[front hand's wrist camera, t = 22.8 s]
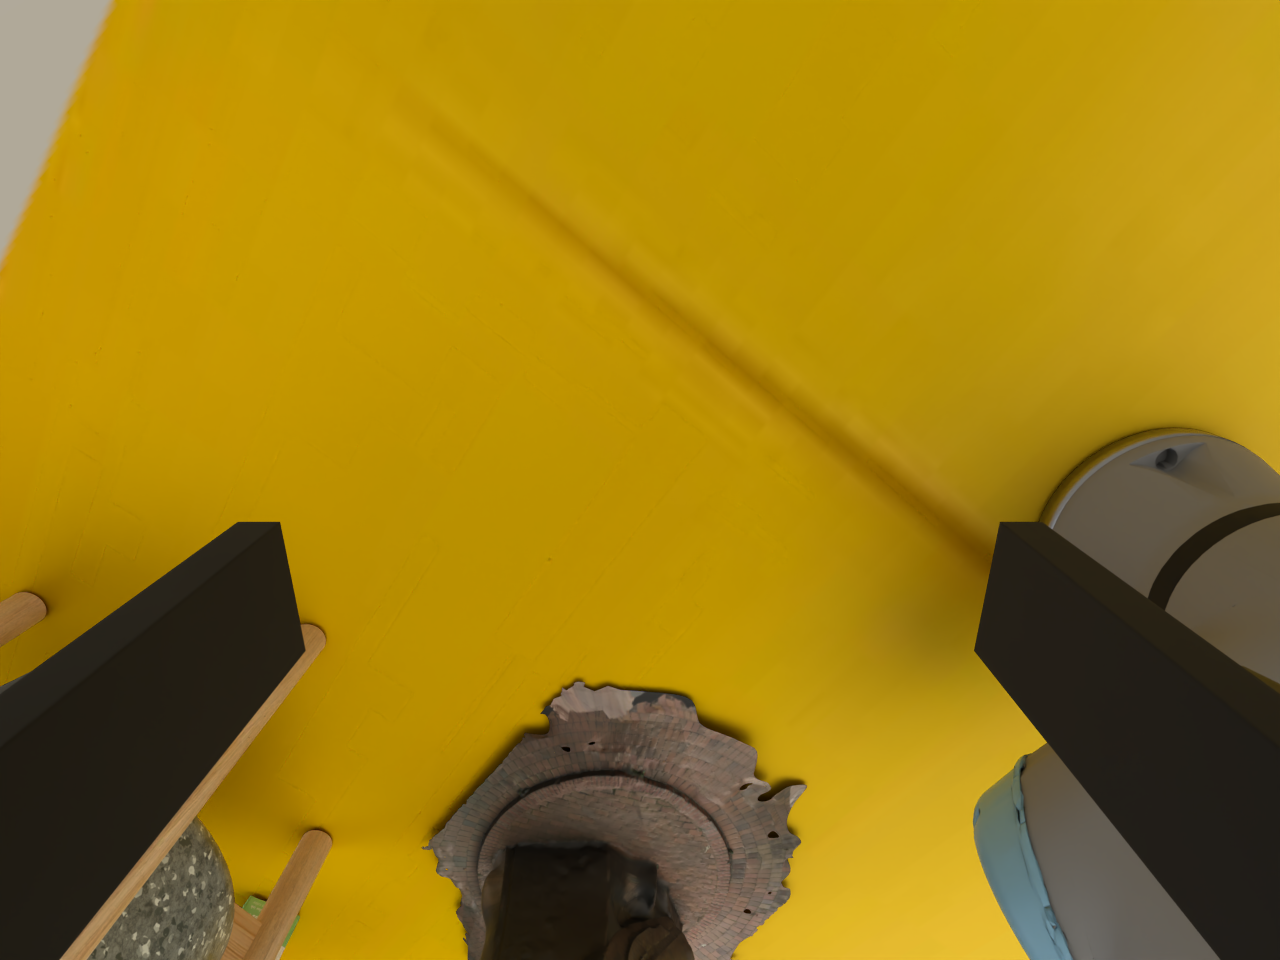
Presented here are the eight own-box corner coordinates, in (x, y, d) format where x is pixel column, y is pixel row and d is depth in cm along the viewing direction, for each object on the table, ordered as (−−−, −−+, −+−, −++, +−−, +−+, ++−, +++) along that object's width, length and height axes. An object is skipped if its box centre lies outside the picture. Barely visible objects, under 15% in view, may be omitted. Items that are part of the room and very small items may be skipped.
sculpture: (325, 829, 56) (210, 1047, 41) (675, 618, 49) (690, 788, 34) (566, 1041, 65) (544, 1282, 50) (889, 889, 58) (975, 1116, 43)
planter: (326, 625, 49) (-167, 1244, 19) (333, 852, 57) (-12, 1550, 27) (8, 589, 48) (-1040, 1183, 18) (59, 825, 56) (-619, 1519, 26)
